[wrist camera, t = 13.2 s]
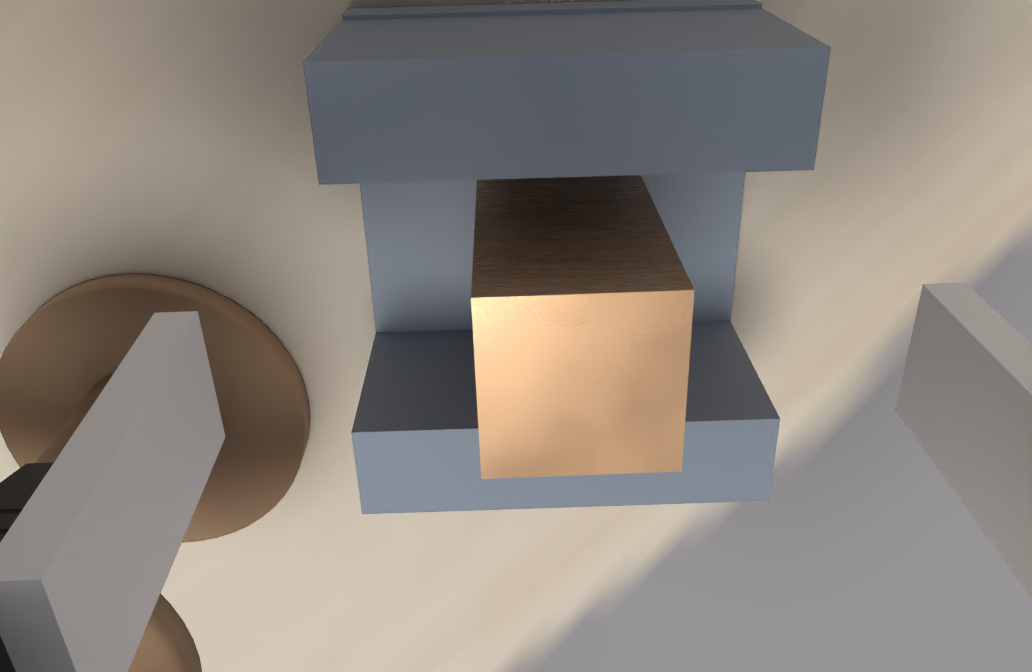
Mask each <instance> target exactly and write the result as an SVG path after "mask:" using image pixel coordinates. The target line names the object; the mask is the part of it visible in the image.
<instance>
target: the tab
mask: <svg viewBox="0 0 1032 672" xmlns="http://www.w3.org/2000/svg"><path fill="white" fill-rule="evenodd" d="M693 304H694V288H693V286H692V284H691V281H690V279H689V277H688V275H687V273H686V271H685V269H684V266H683V264H682V262H681V260H680V258H679V256H678V254H677V251H676V249H675V247H674V245H673V243H672V241H671V239H670V236H669V234H668V232H667V230H666V228H665V226H664V224H663V221H662V219H661V217H660V215H659V213H658V211H657V208H656V206H655V204H654V202H653V200H652V198H651V196H650V193H649V191H648V189H647V187H646V185H645V183H644V181H643V178H642V176H641V175H623V176H590V177H556V178H522V179H489V180H477V187H476V207H475V227H474V247H473V267H472V287H471V308H472V325H473V342H474V360H475V377H476V394H477V412H478V429H479V446H480V464H481V479H495V478H522V477H549V476H576V475H604V474H631V473H658V472H682V459H683V445H684V431H685V417H686V403H687V388H688V374H689V360H690V346H691V332H692V318H693Z"/></svg>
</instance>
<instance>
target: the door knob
mask: <svg viewBox="0 0 1032 672" xmlns="http://www.w3.org/2000/svg"><path fill="white" fill-rule="evenodd" d="M187 311H198V315H199V319H200V324H201V328H202V333H203V338H204V342H205V347H206V351H207V356H208V360H209V365H210V369H211V374H212V378H213V383H214V387H215V392H216V396H217V401H218V406H219V410H220V415H221V419H222V424H223V428H224V433H225V439H224V442H223V444H222V446H221V449H220V451H219V454H218V456H217V458H216V461H215V463H214V466H213V468H212V470H211V473H210V475H209V478H208V480H207V482H206V485H205V487H204V490H203V492H202V494H201V497H200V499H199V502H198V504H197V506H196V509H195V511H194V514H193V516H192V518H191V521H190V523H189V526H188V528H187V530H186V533H185V535H184V538H183V540H182V542H181V543H183V542H194V541H202V540H208V539H213V538H218V537H221V536H224V535H227V534H230V533H233V532H236V531H238V530H240V529H242V528H244V527H247V526H249V525H250V524H252V523H253V522H255V521H257V520H258V519H260V518H262V517H263V516H264V515H265V514H267V513H268V512H269V511H270V510H271V509H272V508H274V507H275V506H276V505H277V503H278V502H279V501H280V500H281V499H282V498H283V497H284V496H285V494H286V493H287V491H288V489H289V488H290V486H291V485H292V483H293V481H294V479H295V477H296V474H297V472H298V470H299V467H300V464H301V461H302V458H303V454H304V451H305V448H306V444H307V440H308V436H309V426H310V411H309V401H308V397H307V393H306V389H305V385H304V383H303V380H302V378H301V375H300V372H299V370H298V368H297V367H296V365H295V363H294V361H293V359H292V358H291V356H290V354H289V353H288V351H287V350H286V349H285V347H284V346H283V345H282V343H281V342H280V341H279V339H278V338H277V337H276V336H275V335H274V334H273V333H272V332H271V331H270V330H269V329H268V328H267V327H266V326H265V325H264V324H263V323H262V322H261V321H260V320H258V319H257V318H256V317H255V316H254V315H252V314H251V313H250V312H249V311H247V310H246V309H244V308H243V307H241V306H239V305H238V304H236V303H235V302H233V301H232V300H230V299H228V298H226V297H224V296H222V295H220V294H218V293H216V292H214V291H212V290H210V289H207V288H204V287H202V286H199V285H196V284H194V283H190V282H187V281H183V280H179V279H175V278H171V277H164V276H157V275H146V274H125V275H114V276H107V277H102V278H98V279H93V280H89V281H87V282H84V283H81V284H79V285H76V286H73V287H71V288H69V289H67V290H65V291H64V292H62V293H60V294H58V295H56V296H55V297H54V298H52V299H51V300H50V301H48V302H47V303H46V304H45V305H43V306H42V307H41V308H40V309H39V310H38V311H37V312H36V313H35V314H34V315H33V316H32V317H31V318H30V319H29V320H28V321H27V322H26V323H25V324H24V325H23V326H22V327H21V328H20V329H19V330H18V331H17V333H16V334H15V335H14V336H13V338H12V339H11V341H10V342H9V344H8V345H7V347H6V348H5V350H4V353H3V355H2V357H1V360H0V431H1V433H2V436H3V438H4V440H5V443H6V445H7V447H8V449H9V450H10V452H11V454H12V456H13V457H14V459H15V461H16V462H17V464H18V465H19V466H20V467H22V466H24V465H25V464H26V463H49V462H55V460H56V459H57V457H58V456H59V454H60V453H61V451H62V450H63V448H64V447H65V445H66V444H67V442H68V441H69V440H70V438H71V437H72V435H73V434H74V432H75V431H76V429H77V428H78V426H79V425H80V423H81V422H82V420H83V419H84V417H85V416H86V414H87V413H88V411H89V410H90V408H91V407H92V405H93V404H94V402H95V401H96V399H97V398H98V396H99V395H100V393H101V392H102V390H103V389H104V387H105V386H106V384H107V383H108V381H109V380H110V378H111V377H112V375H113V374H114V372H115V371H116V369H117V368H118V366H119V365H120V363H121V362H122V361H123V359H124V358H125V356H126V355H127V353H128V352H129V350H130V349H131V347H132V346H133V344H134V343H135V341H136V340H137V338H138V337H139V335H140V334H141V332H142V331H143V329H144V328H145V326H146V325H147V323H148V322H149V320H150V319H151V317H152V316H153V314H154V313H160V312H187ZM128 672H202V669H201V663H200V657H199V654H198V652H197V649H196V646H195V643H194V640H193V638H192V636H191V634H190V633H189V631H188V629H187V627H186V625H185V623H184V622H183V620H182V619H181V617H180V616H179V615H178V613H177V612H176V611H175V609H174V608H173V607H172V605H171V604H170V603H169V602H168V601H167V600H166V599H165V598H164V597H163V596H162V595H161V594H160V595H159V598H158V600H157V602H156V605H155V607H154V610H153V612H152V614H151V617H150V619H149V622H148V624H147V626H146V629H145V631H144V634H143V636H142V638H141V641H140V643H139V646H138V648H137V650H136V653H135V655H134V658H133V660H132V662H131V665H130V667H129V670H128Z"/></svg>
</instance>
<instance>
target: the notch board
mask: <svg viewBox="0 0 1032 672" xmlns="http://www.w3.org/2000/svg"><path fill="white" fill-rule="evenodd" d="M761 6H762V4H761V3H759V2H757V1H755V0H627V1H592V2H556V3H520V4H484V5H448V6H413V7H377V8H349V9H348V10H347V11H346V12H345V13H344V14H343V15H342V21H341V22H340V23H339V24H338V25H337V26H336V27H335V28H334V30H333V31H332V32H331V33H330V34H329V35H328V36H327V37H326V38H325V39H324V40H323V41H322V42H321V44H320V45H319V46H318V47H317V48H316V49H315V50H314V51H313V52H312V53H311V54H310V55H309V57H308V58H307V59H306V60H305V61H304V62H303V65H304V73H305V81H306V88H307V96H308V104H309V111H310V119H311V127H312V134H313V142H314V150H315V157H316V165H317V172H318V180H319V185H320V184H354V183H360V189H361V198H362V207H363V217H364V226H365V235H366V244H367V253H368V263H369V272H370V281H371V290H372V299H373V309H374V318H375V327H376V335H375V339H374V343H373V347H372V351H371V355H370V359H369V364H368V368H367V372H366V376H365V380H364V384H363V388H362V392H361V396H360V400H359V404H358V408H357V412H356V416H355V420H354V425H353V429H352V440H353V448H354V455H355V463H356V471H357V478H358V486H359V493H360V501H361V509H362V514H380V513H410V512H441V511H471V510H501V509H532V508H562V507H592V506H623V505H653V504H683V503H714V502H744V501H769V497H770V489H771V482H772V475H773V467H774V460H775V452H776V445H777V438H778V430H779V423H780V418H779V416H778V414H777V412H776V410H775V408H774V406H773V404H772V402H771V400H770V398H769V396H768V394H767V392H766V390H765V388H764V386H763V384H762V382H761V381H760V379H759V377H758V375H757V373H756V371H755V369H754V367H753V365H752V363H751V361H750V359H749V357H748V355H747V353H746V351H745V349H744V347H743V345H742V343H741V341H740V339H739V337H738V336H737V334H736V332H735V330H734V328H733V326H732V324H731V322H730V320H731V310H732V299H733V289H734V279H735V269H736V259H737V249H738V239H739V229H740V219H741V209H742V198H743V188H744V178H745V172H758V171H792V170H814V165H815V158H816V150H817V143H818V136H819V128H820V121H821V114H822V106H823V99H824V91H825V84H826V77H827V69H828V62H829V55H830V47H829V46H827V45H825V44H824V43H822V42H820V41H818V40H817V39H815V38H813V37H811V36H809V35H808V34H806V33H804V32H802V31H801V30H799V29H797V28H795V27H793V26H792V25H790V24H788V23H786V22H785V21H783V20H781V19H779V18H777V17H776V16H774V15H772V14H770V13H769V12H767V11H765V10H763V9H761ZM623 175H641V176H642V178H643V181H644V183H645V185H646V187H647V189H648V191H649V193H650V196H651V198H652V200H653V202H654V204H655V206H656V208H657V211H658V213H659V215H660V217H661V219H662V221H663V224H664V226H665V228H666V230H667V232H668V234H669V236H670V239H671V241H672V243H673V245H674V247H675V249H676V251H677V254H678V256H679V258H680V260H681V262H682V264H683V266H684V269H685V271H686V273H687V275H688V277H689V279H690V281H691V284H692V286H693V288H694V304H693V318H692V332H691V346H690V360H689V374H688V388H687V403H686V417H685V431H684V445H683V459H682V472H658V473H631V474H604V475H576V476H549V477H522V478H495V479H481V464H480V446H479V429H478V412H477V394H476V377H475V360H474V342H473V325H472V308H471V287H472V267H473V247H474V227H475V207H476V187H477V180H489V179H522V178H556V177H590V176H623Z"/></svg>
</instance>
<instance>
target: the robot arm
mask: <svg viewBox="0 0 1032 672" xmlns="http://www.w3.org/2000/svg"><path fill="white" fill-rule="evenodd" d="M895 410H896V412H897V413H898V415H899V416H900V417H901V419H902V420H903V422H904V423H905V424H906V426H907V427H908V429H909V430H910V431H911V433H912V434H913V435H914V437H915V438H916V439H917V441H918V442H919V444H920V445H921V446H922V448H923V449H924V451H925V452H926V453H927V455H928V456H929V458H930V459H931V460H932V462H933V463H934V465H935V466H936V467H937V469H938V470H939V471H940V473H941V474H942V476H943V477H944V478H945V480H946V481H947V483H948V484H949V485H950V487H951V488H952V489H953V491H954V492H955V494H956V495H957V496H958V498H959V499H960V501H961V502H962V503H963V505H964V506H965V507H966V509H967V510H968V511H969V513H970V514H971V516H972V517H973V519H974V520H975V521H976V523H977V524H978V526H979V527H980V528H981V530H982V531H983V533H984V534H985V535H986V537H987V538H988V540H989V541H990V542H991V544H992V545H993V546H994V548H995V549H996V551H997V552H998V553H999V554H1000V556H1001V558H1002V559H1003V560H1004V562H1005V563H1006V564H1007V566H1008V567H1009V569H1010V570H1011V571H1012V573H1013V574H1014V576H1015V577H1016V578H1017V580H1018V581H1019V582H1020V584H1021V585H1022V587H1023V588H1024V589H1025V591H1026V592H1027V593H1028V595H1029V596H1030V598H1031V599H1032V345H1031V344H1030V343H1029V342H1028V341H1027V340H1026V339H1025V338H1024V337H1022V336H1021V335H1020V334H1019V333H1018V332H1017V331H1016V330H1015V329H1014V328H1013V327H1012V326H1011V325H1009V324H1008V323H1007V322H1006V321H1005V320H1004V319H1003V318H1002V317H1001V316H1000V315H999V314H998V313H997V312H996V311H994V310H993V309H992V308H991V307H990V306H989V305H988V304H987V303H986V302H985V301H984V300H983V299H982V298H980V297H979V296H978V295H977V294H976V293H975V292H974V291H973V290H972V289H971V288H970V287H969V286H968V285H966V284H965V283H944V284H923V287H922V291H921V296H920V300H919V305H918V309H917V314H916V318H915V323H914V327H913V332H912V337H911V341H910V346H909V350H908V355H907V359H906V364H905V368H904V373H903V377H902V382H901V387H900V391H899V396H898V400H897V405H896V409H895ZM224 439H225V433H224V428H223V424H222V419H221V415H220V410H219V406H218V401H217V396H216V392H215V387H214V383H213V378H212V374H211V369H210V365H209V360H208V356H207V351H206V347H205V342H204V338H203V333H202V328H201V324H200V319H199V315H198V311H187V312H160V313H154V314H153V316H152V317H151V319H150V320H149V322H148V323H147V325H146V326H145V328H144V329H143V331H142V332H141V334H140V335H139V337H138V338H137V340H136V341H135V343H134V344H133V346H132V347H131V349H130V350H129V352H128V353H127V355H126V356H125V358H124V359H123V361H122V362H121V363H120V365H119V366H118V368H117V369H116V371H115V372H114V374H113V375H112V377H111V378H110V380H109V381H108V383H107V384H106V386H105V387H104V389H103V390H102V392H101V393H100V395H99V396H98V398H97V399H96V401H95V402H94V404H93V405H92V407H91V408H90V410H89V411H88V413H87V414H86V416H85V417H84V419H83V420H82V422H81V423H80V425H79V426H78V428H77V429H76V431H75V432H74V434H73V435H72V437H71V438H70V440H69V441H68V442H67V444H66V445H65V447H64V448H63V450H62V451H61V453H60V454H59V456H58V457H57V459H56V460H55V462H49V463H26V464H25V465H24V466H22V467H21V468H20V469H18V470H17V471H16V472H14V473H13V474H11V475H10V476H9V477H7V478H6V479H5V480H3V481H2V482H1V483H0V672H128V670H129V667H130V665H131V662H132V660H133V658H134V655H135V653H136V650H137V648H138V646H139V643H140V641H141V638H142V636H143V634H144V631H145V629H146V626H147V624H148V622H149V619H150V617H151V614H152V612H153V610H154V607H155V605H156V602H157V600H158V598H159V595H160V593H161V590H162V588H163V586H164V583H165V581H166V578H167V576H168V574H169V571H170V569H171V566H172V564H173V562H174V559H175V557H176V554H177V552H178V550H179V547H180V545H181V542H182V540H183V538H184V535H185V533H186V530H187V528H188V526H189V523H190V521H191V518H192V516H193V514H194V511H195V509H196V506H197V504H198V502H199V499H200V497H201V494H202V492H203V490H204V487H205V485H206V482H207V480H208V478H209V475H210V473H211V470H212V468H213V466H214V463H215V461H216V458H217V456H218V454H219V451H220V449H221V446H222V444H223V442H224Z"/></svg>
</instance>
